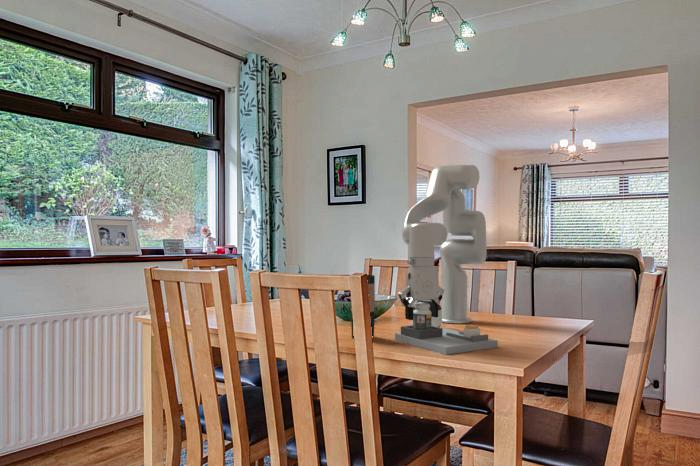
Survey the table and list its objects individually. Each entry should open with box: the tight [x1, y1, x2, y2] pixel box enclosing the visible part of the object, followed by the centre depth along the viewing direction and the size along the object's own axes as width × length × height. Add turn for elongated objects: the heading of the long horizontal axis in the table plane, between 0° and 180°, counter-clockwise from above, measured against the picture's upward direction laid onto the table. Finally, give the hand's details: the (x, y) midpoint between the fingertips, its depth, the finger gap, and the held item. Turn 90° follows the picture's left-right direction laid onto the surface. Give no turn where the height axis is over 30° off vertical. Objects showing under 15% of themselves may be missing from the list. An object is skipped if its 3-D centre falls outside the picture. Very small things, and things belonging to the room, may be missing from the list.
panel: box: [394, 324, 498, 355], centre depth 161 cm, size 24×20×4 cm
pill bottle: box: [412, 302, 432, 330], centre depth 163 cm, size 6×6×10 cm
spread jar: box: [411, 300, 443, 328], centre depth 183 cm, size 12×11×12 cm
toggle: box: [463, 324, 481, 338], centre depth 158 cm, size 3×4×4 cm
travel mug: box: [350, 274, 376, 339], centre depth 169 cm, size 8×8×20 cm
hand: (421, 318), depth 163 cm, fingers open, 9 cm apart
